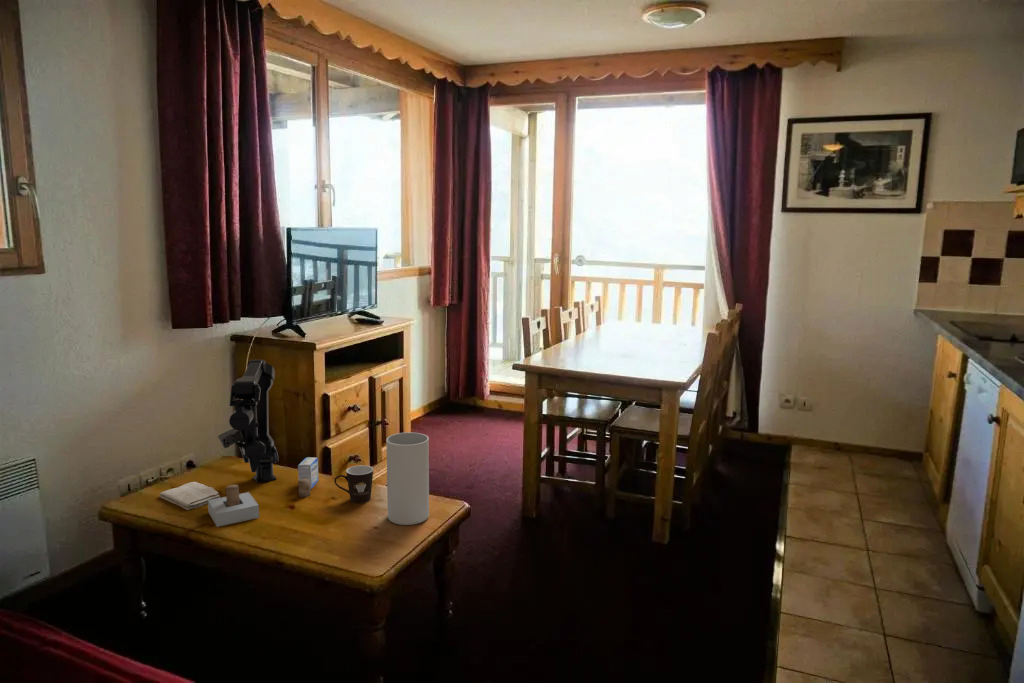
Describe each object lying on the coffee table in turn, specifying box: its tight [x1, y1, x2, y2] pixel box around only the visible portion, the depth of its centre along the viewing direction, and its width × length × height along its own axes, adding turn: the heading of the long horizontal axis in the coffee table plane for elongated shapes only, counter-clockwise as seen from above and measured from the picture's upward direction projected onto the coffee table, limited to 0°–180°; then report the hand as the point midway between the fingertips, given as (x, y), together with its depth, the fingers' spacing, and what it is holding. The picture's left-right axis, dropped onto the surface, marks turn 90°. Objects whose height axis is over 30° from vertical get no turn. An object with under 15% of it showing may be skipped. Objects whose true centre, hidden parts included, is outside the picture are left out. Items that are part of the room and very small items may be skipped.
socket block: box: [207, 491, 260, 528], centre depth 207 cm, size 12×12×4 cm
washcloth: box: [159, 481, 221, 511], centre depth 219 cm, size 12×18×3 cm, turn 56°
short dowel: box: [298, 479, 311, 498], centre depth 223 cm, size 4×4×5 cm
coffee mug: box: [334, 464, 374, 504], centre depth 220 cm, size 12×9×10 cm
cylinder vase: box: [386, 432, 430, 526], centre depth 205 cm, size 12×12×25 cm
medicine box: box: [297, 456, 319, 490], centre depth 231 cm, size 8×4×9 cm, turn 179°
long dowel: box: [225, 484, 240, 507], centre depth 206 cm, size 4×4×9 cm
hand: (250, 467), depth 214 cm, fingers open, 9 cm apart
